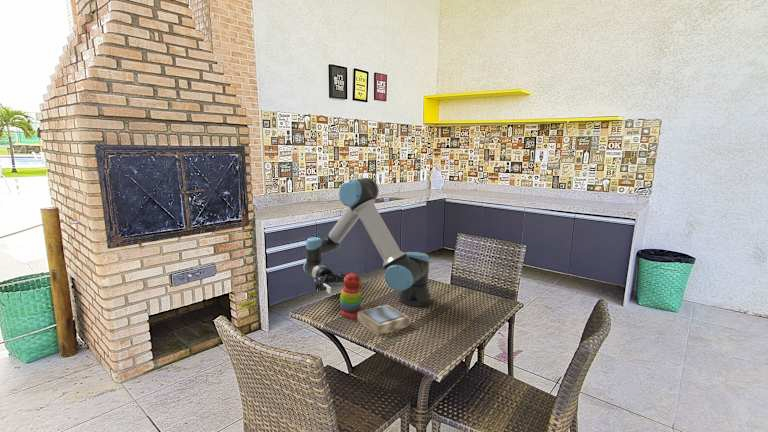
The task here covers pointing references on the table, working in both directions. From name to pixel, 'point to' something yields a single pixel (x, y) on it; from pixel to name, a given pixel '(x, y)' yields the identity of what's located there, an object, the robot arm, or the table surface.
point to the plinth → (382, 319)
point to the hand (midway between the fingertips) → (344, 288)
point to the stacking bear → (351, 297)
